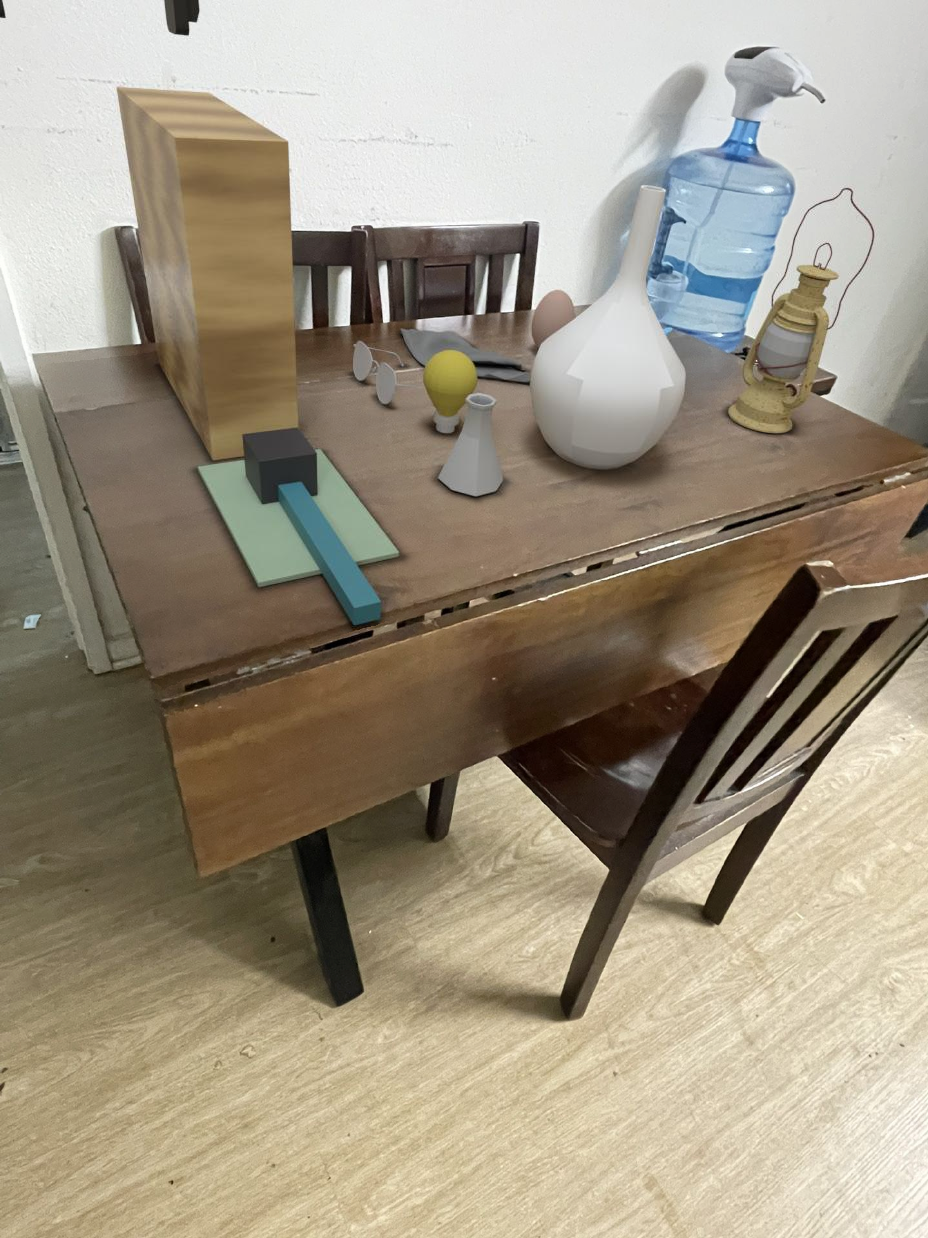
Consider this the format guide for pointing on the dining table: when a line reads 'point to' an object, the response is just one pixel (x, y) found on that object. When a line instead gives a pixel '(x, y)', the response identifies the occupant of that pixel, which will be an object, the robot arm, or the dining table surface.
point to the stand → (216, 260)
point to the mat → (273, 536)
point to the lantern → (788, 348)
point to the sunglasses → (384, 374)
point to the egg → (551, 315)
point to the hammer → (307, 513)
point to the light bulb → (449, 386)
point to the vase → (611, 365)
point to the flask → (474, 451)
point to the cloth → (484, 361)
